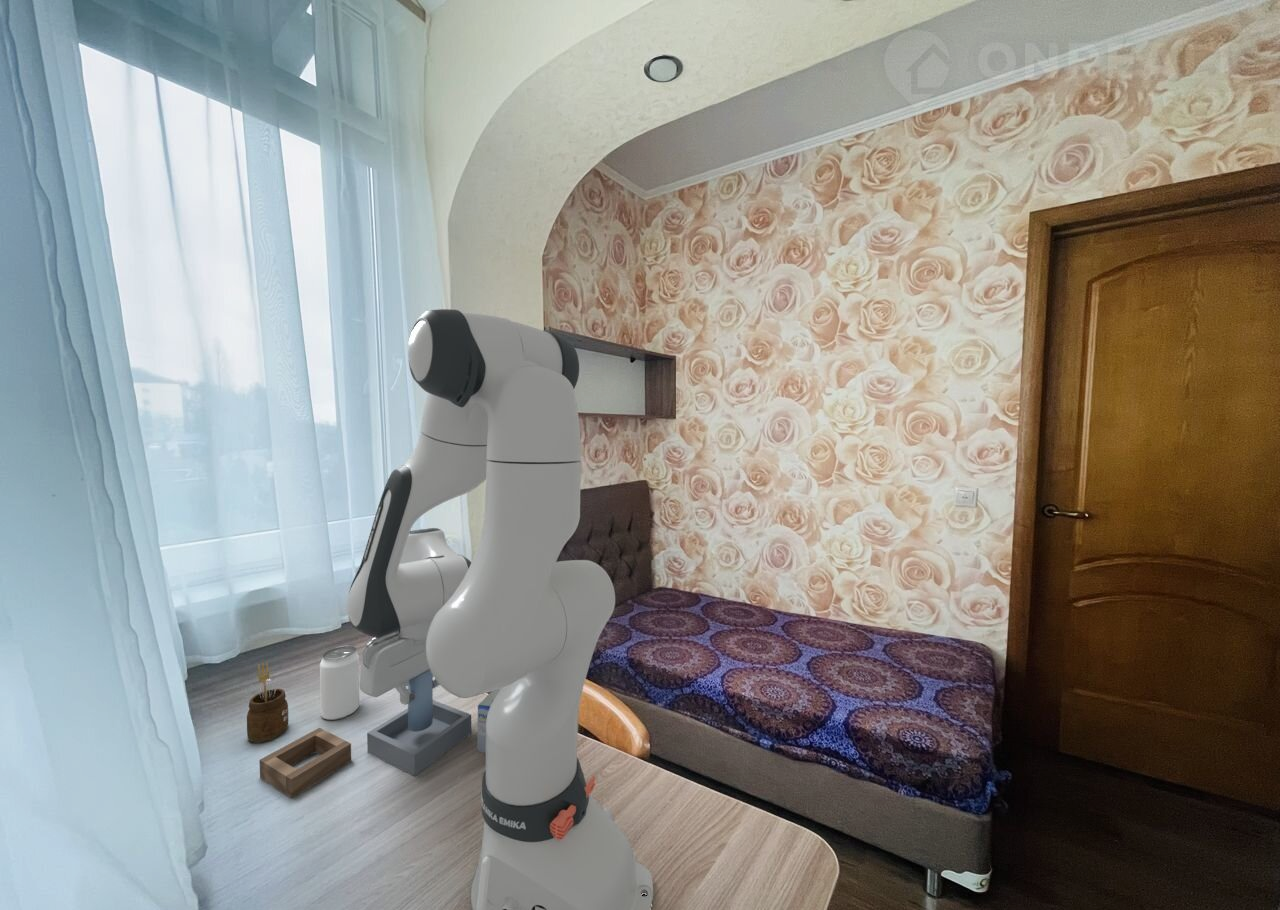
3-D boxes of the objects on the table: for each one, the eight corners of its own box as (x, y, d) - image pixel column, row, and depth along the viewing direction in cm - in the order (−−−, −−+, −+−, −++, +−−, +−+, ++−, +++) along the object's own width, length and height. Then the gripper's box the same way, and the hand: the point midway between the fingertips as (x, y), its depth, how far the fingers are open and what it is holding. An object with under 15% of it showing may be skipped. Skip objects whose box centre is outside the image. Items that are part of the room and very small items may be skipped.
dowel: (437, 721, 83) (437, 667, 83) (418, 734, 80) (418, 678, 79) (422, 714, 85) (422, 662, 85) (402, 727, 81) (402, 672, 81)
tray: (471, 732, 85) (471, 714, 85) (414, 775, 74) (414, 755, 74) (426, 714, 90) (426, 697, 90) (367, 752, 80) (367, 732, 79)
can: (340, 723, 87) (339, 662, 87) (312, 718, 89) (311, 658, 88) (367, 703, 94) (366, 646, 93) (340, 699, 95) (339, 643, 94)
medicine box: (499, 724, 88) (499, 680, 87) (521, 728, 87) (521, 683, 86) (476, 752, 80) (476, 704, 80) (500, 756, 79) (500, 708, 79)
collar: (351, 760, 78) (350, 743, 77) (291, 798, 70) (291, 779, 69) (319, 743, 82) (319, 727, 81) (259, 777, 73) (259, 759, 73)
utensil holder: (250, 748, 80) (248, 682, 79) (244, 732, 84) (242, 669, 84) (292, 732, 84) (290, 669, 84) (284, 718, 89) (282, 657, 88)
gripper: (375, 646, 71) (376, 733, 71) (476, 603, 89) (476, 672, 90) (350, 637, 73) (351, 721, 74) (453, 597, 92) (453, 664, 92)
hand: (420, 694), depth 82 cm, fingers closed on dowel, 4 cm apart
